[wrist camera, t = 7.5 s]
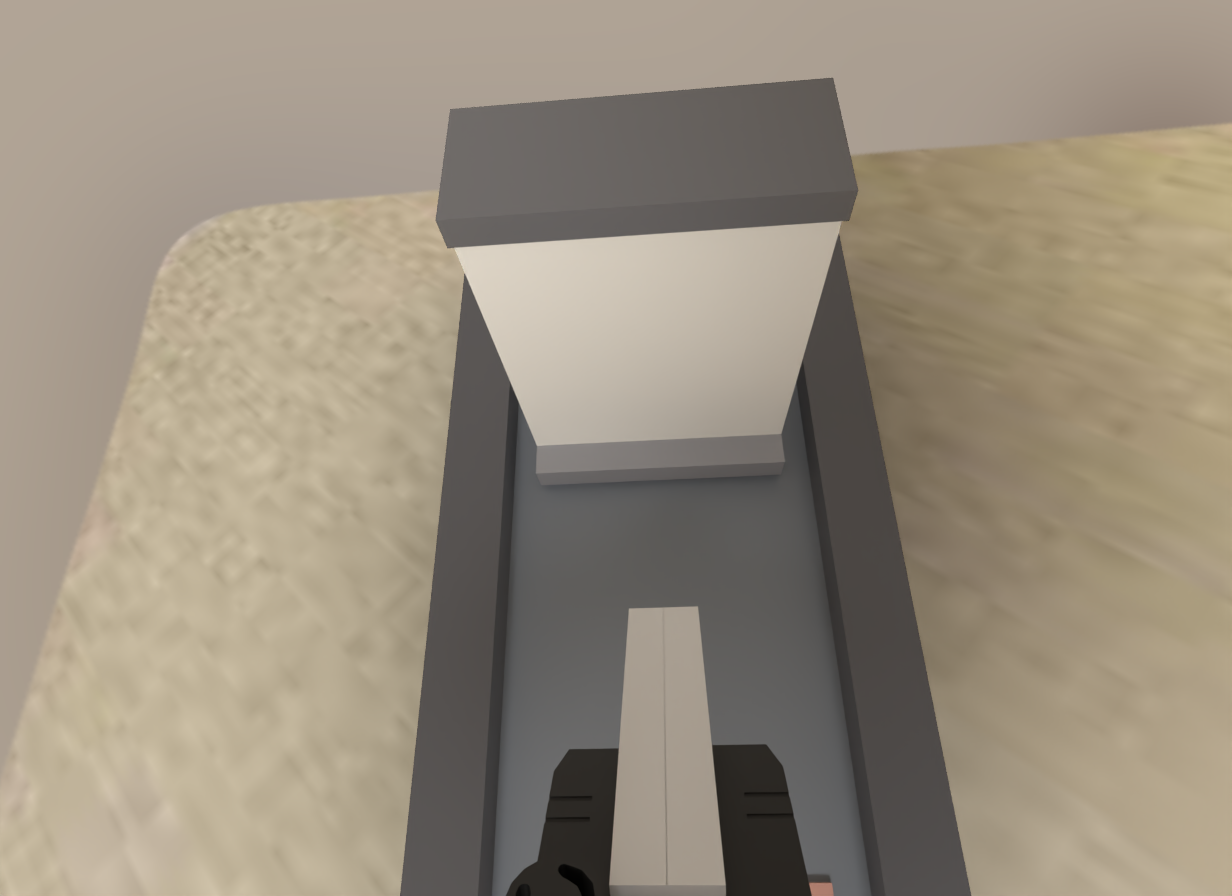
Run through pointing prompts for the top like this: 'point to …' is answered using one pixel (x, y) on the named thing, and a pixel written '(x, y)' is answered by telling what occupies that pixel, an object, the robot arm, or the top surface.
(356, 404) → the top surface
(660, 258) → the handle
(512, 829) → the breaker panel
